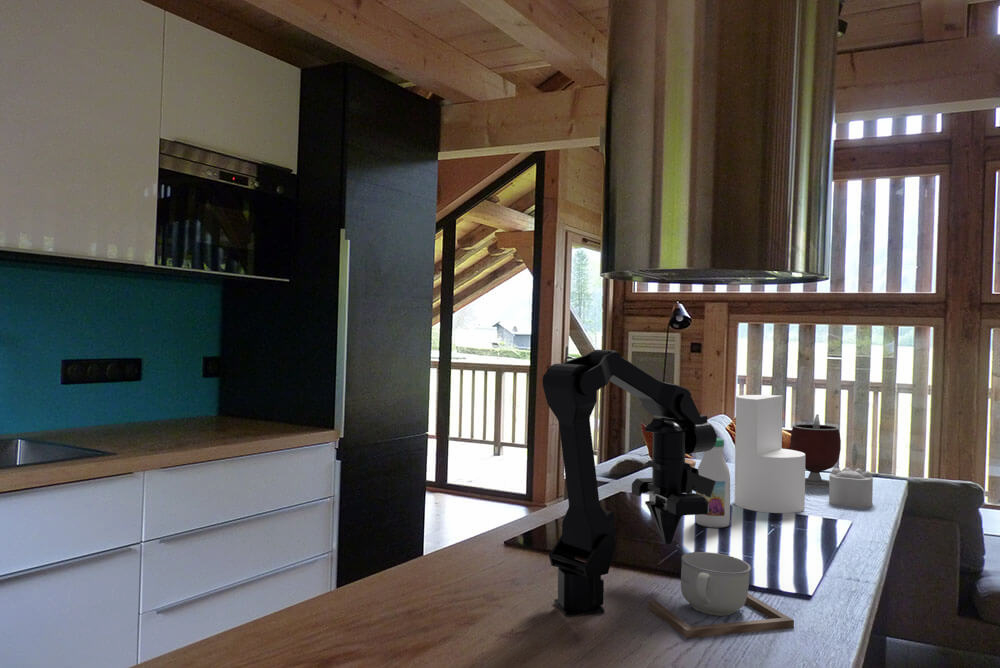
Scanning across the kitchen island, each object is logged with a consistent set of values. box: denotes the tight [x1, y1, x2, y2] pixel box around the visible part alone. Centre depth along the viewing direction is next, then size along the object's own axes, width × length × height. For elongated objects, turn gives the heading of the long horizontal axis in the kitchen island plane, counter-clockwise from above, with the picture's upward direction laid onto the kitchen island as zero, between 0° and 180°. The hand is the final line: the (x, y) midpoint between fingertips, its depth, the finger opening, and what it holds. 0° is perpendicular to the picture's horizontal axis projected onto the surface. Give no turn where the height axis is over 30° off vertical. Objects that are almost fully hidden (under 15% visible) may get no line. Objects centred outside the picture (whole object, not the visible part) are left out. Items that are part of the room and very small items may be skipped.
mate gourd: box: [790, 414, 842, 489], centre depth 233 cm, size 16×14×20 cm
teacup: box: [680, 551, 752, 617], centre depth 125 cm, size 14×11×8 cm
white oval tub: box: [828, 467, 874, 509], centre depth 209 cm, size 10×13×9 cm
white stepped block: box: [733, 394, 806, 514], centre depth 203 cm, size 17×17×28 cm
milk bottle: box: [695, 437, 731, 529], centre depth 182 cm, size 8×8×20 cm
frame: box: [647, 592, 795, 639], centre depth 122 cm, size 18×13×1 cm
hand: (667, 543), depth 140 cm, fingers closed
